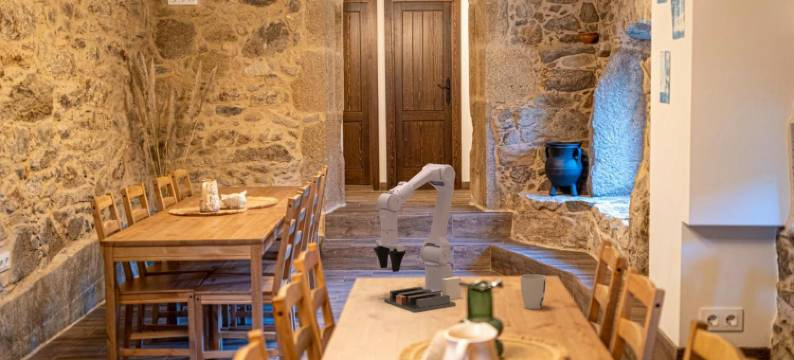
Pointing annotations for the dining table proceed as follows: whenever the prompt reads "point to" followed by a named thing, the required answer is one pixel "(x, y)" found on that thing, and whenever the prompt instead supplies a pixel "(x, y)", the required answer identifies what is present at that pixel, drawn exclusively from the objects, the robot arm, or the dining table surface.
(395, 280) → the dining table surface
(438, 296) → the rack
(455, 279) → the tall beige block
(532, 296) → the cup
